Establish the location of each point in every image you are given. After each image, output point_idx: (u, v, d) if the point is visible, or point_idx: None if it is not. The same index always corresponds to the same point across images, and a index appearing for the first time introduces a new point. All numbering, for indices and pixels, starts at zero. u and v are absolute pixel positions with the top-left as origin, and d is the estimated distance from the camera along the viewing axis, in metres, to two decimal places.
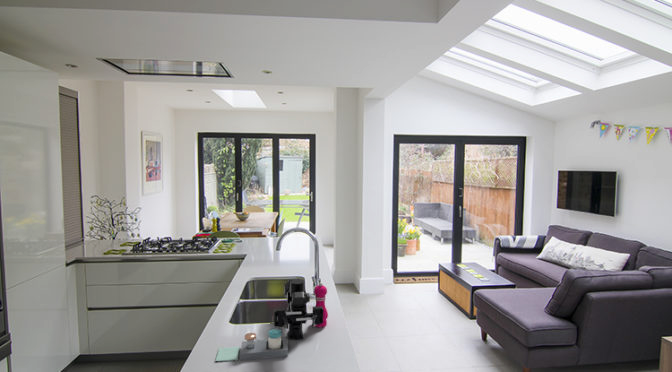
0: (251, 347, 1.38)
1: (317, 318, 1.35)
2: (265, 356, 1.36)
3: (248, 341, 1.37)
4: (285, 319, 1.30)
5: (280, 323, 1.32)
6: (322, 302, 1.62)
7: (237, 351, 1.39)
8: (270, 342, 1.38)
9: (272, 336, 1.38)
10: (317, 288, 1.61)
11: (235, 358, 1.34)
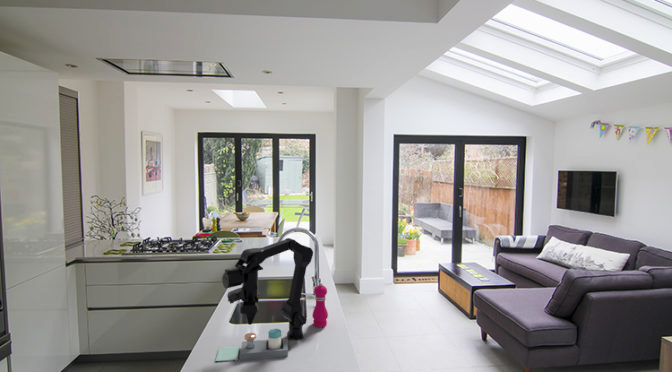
0: (251, 347, 1.38)
1: None
2: (265, 356, 1.36)
3: (248, 341, 1.37)
4: None
5: None
6: (322, 302, 1.62)
7: (237, 351, 1.39)
8: (270, 342, 1.38)
9: (272, 336, 1.38)
10: (317, 288, 1.61)
11: (235, 358, 1.34)
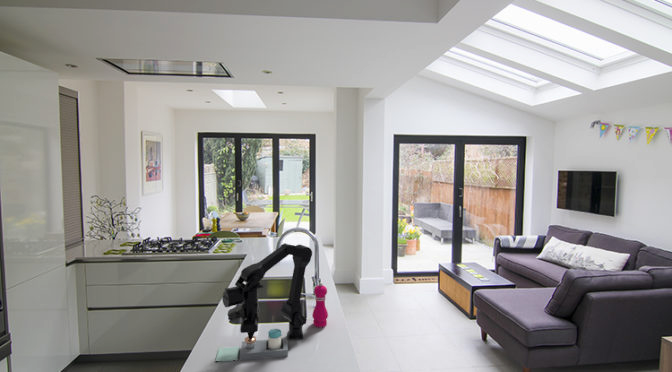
0: None
1: None
2: (265, 356, 1.36)
3: (248, 344, 1.37)
4: None
5: None
6: (322, 302, 1.62)
7: (237, 351, 1.39)
8: (270, 342, 1.38)
9: (272, 336, 1.38)
10: (317, 288, 1.61)
11: (235, 358, 1.34)
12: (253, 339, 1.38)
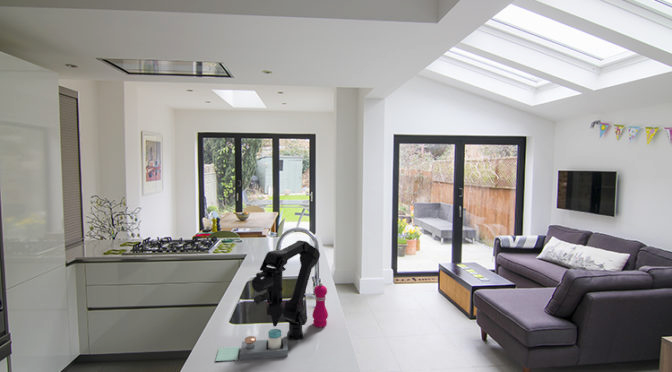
0: None
1: None
2: (265, 356, 1.36)
3: (248, 344, 1.37)
4: None
5: None
6: (322, 302, 1.62)
7: (237, 351, 1.39)
8: (270, 342, 1.38)
9: (272, 336, 1.38)
10: (317, 288, 1.61)
11: (235, 358, 1.34)
12: (253, 339, 1.38)
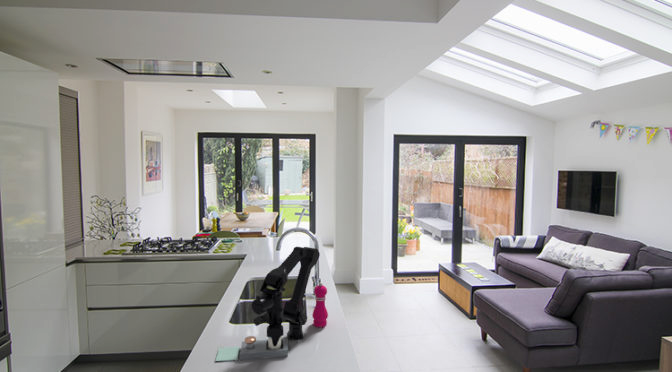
0: None
1: None
2: (265, 356, 1.36)
3: (248, 344, 1.37)
4: None
5: None
6: (322, 302, 1.62)
7: (237, 351, 1.39)
8: (270, 342, 1.38)
9: None
10: (317, 288, 1.61)
11: (235, 358, 1.34)
12: (253, 339, 1.38)
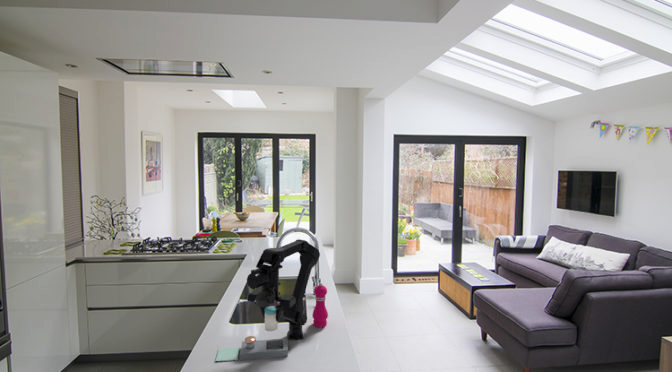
0: None
1: None
2: (265, 356, 1.36)
3: (248, 344, 1.37)
4: (262, 310, 1.39)
5: None
6: (322, 302, 1.62)
7: (237, 351, 1.39)
8: (272, 319, 1.37)
9: (275, 312, 1.37)
10: (317, 288, 1.61)
11: (235, 358, 1.34)
12: (253, 339, 1.38)
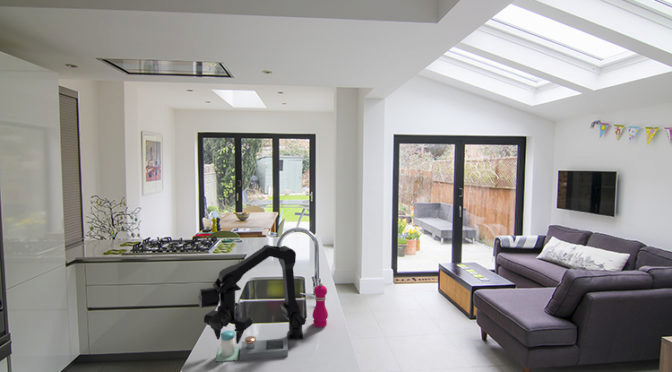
0: None
1: None
2: (265, 356, 1.36)
3: (248, 344, 1.37)
4: (214, 330, 1.37)
5: None
6: (322, 302, 1.62)
7: (237, 351, 1.39)
8: (228, 345, 1.35)
9: (231, 337, 1.35)
10: (317, 288, 1.61)
11: (235, 358, 1.34)
12: (253, 339, 1.38)
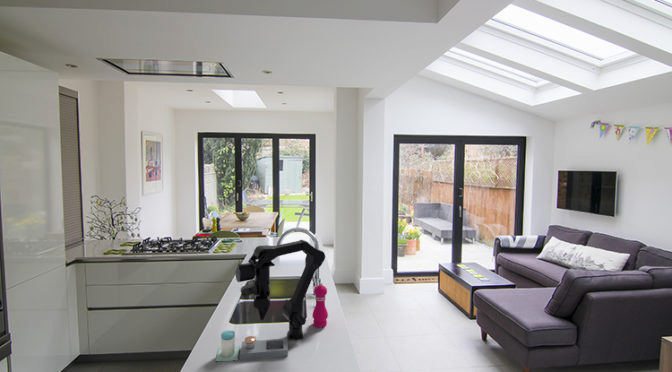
0: None
1: None
2: (265, 356, 1.36)
3: (248, 344, 1.37)
4: None
5: None
6: (322, 302, 1.62)
7: (237, 351, 1.39)
8: (228, 344, 1.35)
9: (231, 337, 1.35)
10: (317, 288, 1.61)
11: (235, 358, 1.34)
12: (253, 339, 1.38)
